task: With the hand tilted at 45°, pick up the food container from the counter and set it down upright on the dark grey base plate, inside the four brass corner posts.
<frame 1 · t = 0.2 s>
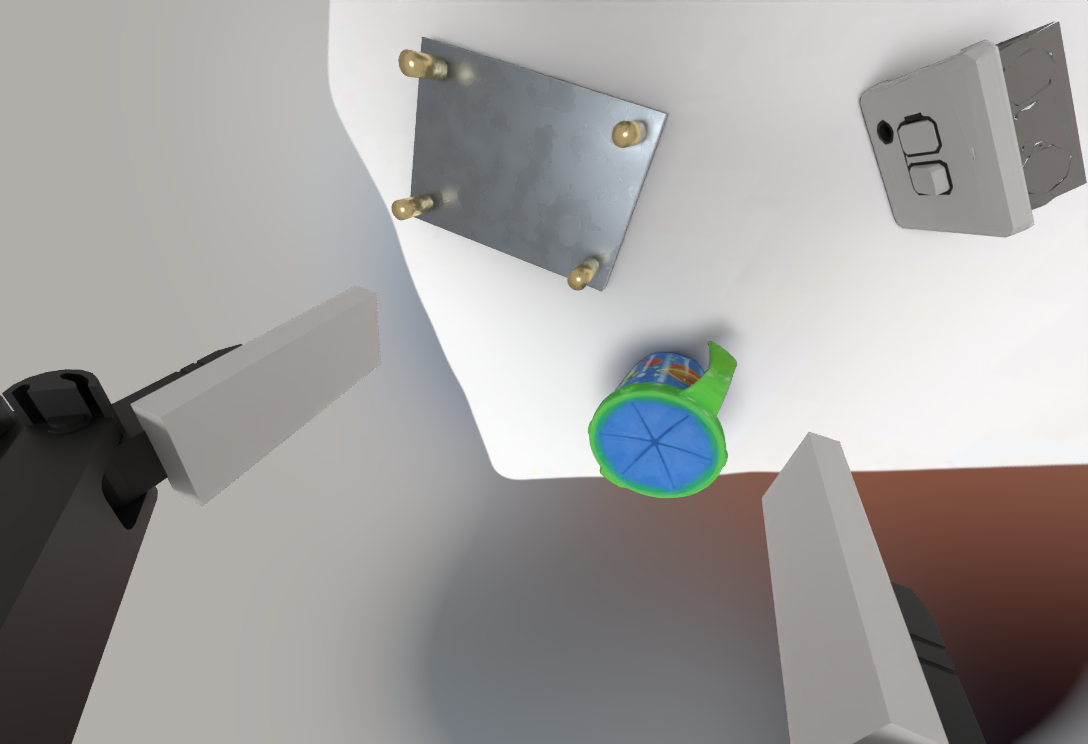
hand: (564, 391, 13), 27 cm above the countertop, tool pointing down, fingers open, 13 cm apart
post plate: (524, 170, 37), on the countertop
snack cup: (668, 383, 42), on the countertop
electrical switch: (925, 137, 28), on the countertop
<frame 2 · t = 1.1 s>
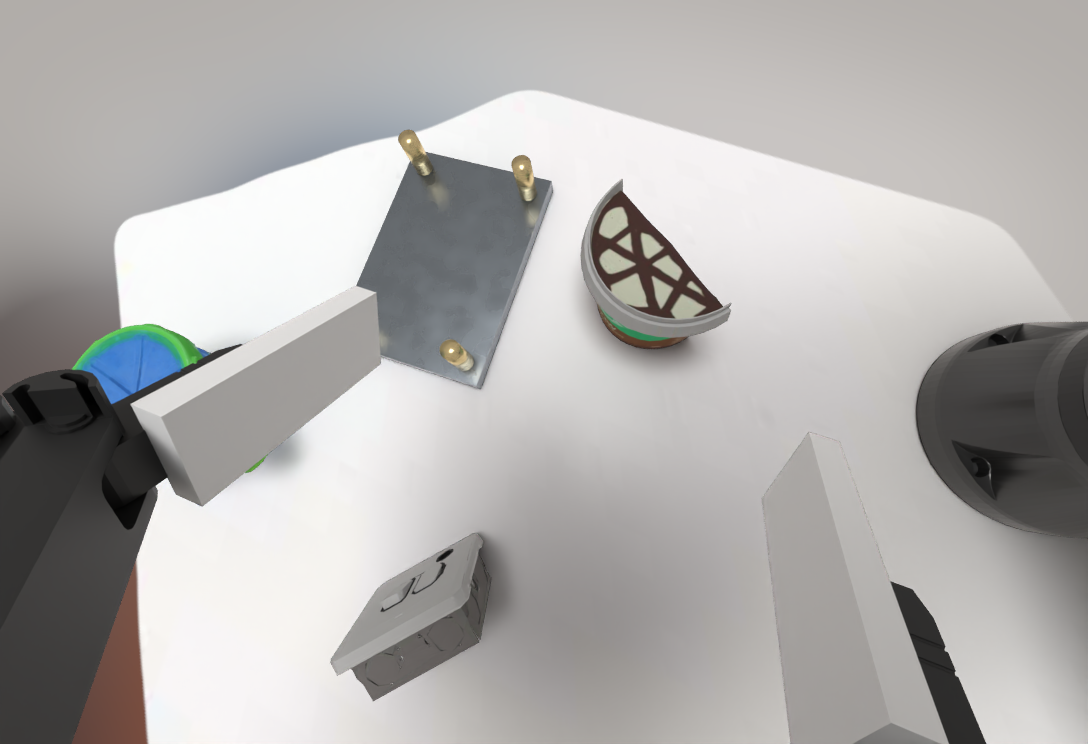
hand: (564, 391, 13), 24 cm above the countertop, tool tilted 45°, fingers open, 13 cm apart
food container: (624, 316, 38), on the countertop
post plate: (448, 266, 41), on the countertop
snack cup: (240, 412, 40), on the countertop
electrical switch: (447, 586, 35), on the countertop
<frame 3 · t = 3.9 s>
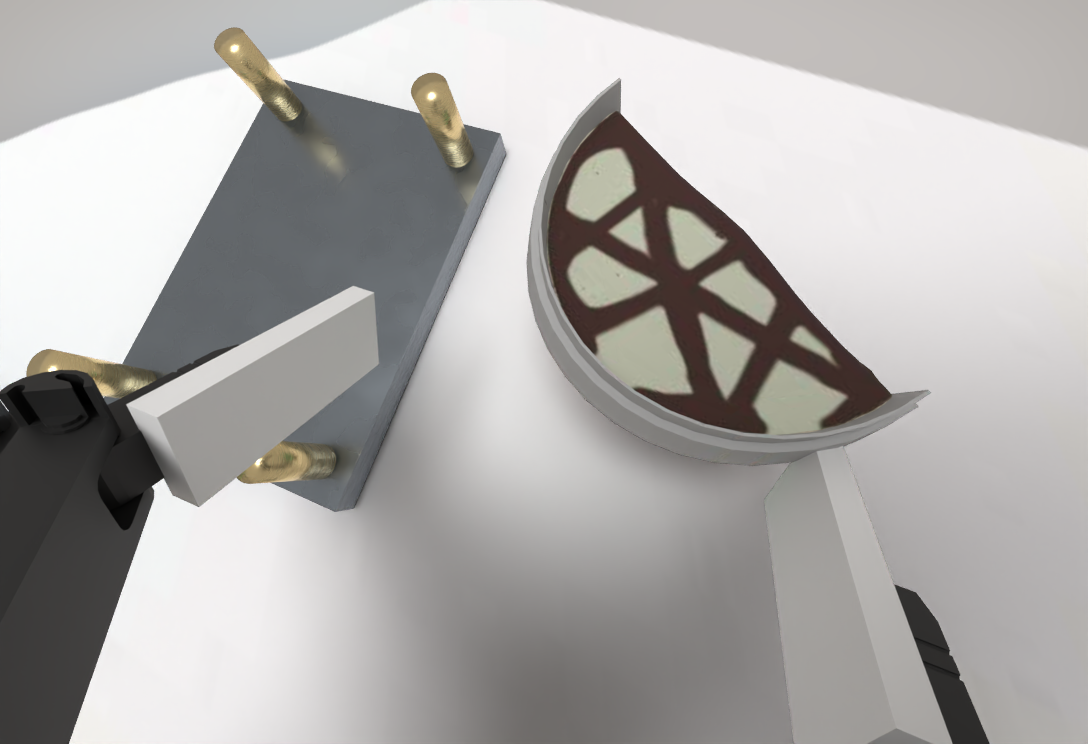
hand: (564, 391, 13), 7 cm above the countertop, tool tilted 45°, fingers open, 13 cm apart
food container: (623, 374, 21), on the countertop, touching gripper
post plate: (320, 279, 24), on the countertop
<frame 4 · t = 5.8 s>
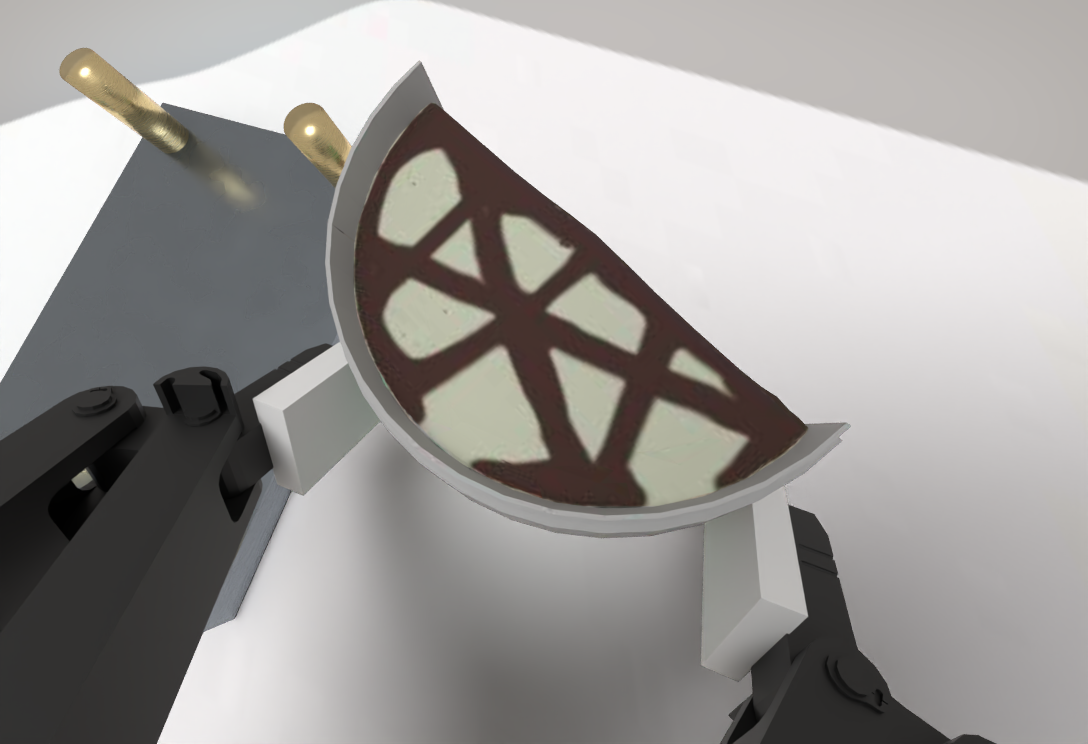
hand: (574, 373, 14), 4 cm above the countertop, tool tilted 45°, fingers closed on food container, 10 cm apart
food container: (543, 403, 18), on the countertop, touching gripper
post plate: (208, 337, 20), on the countertop
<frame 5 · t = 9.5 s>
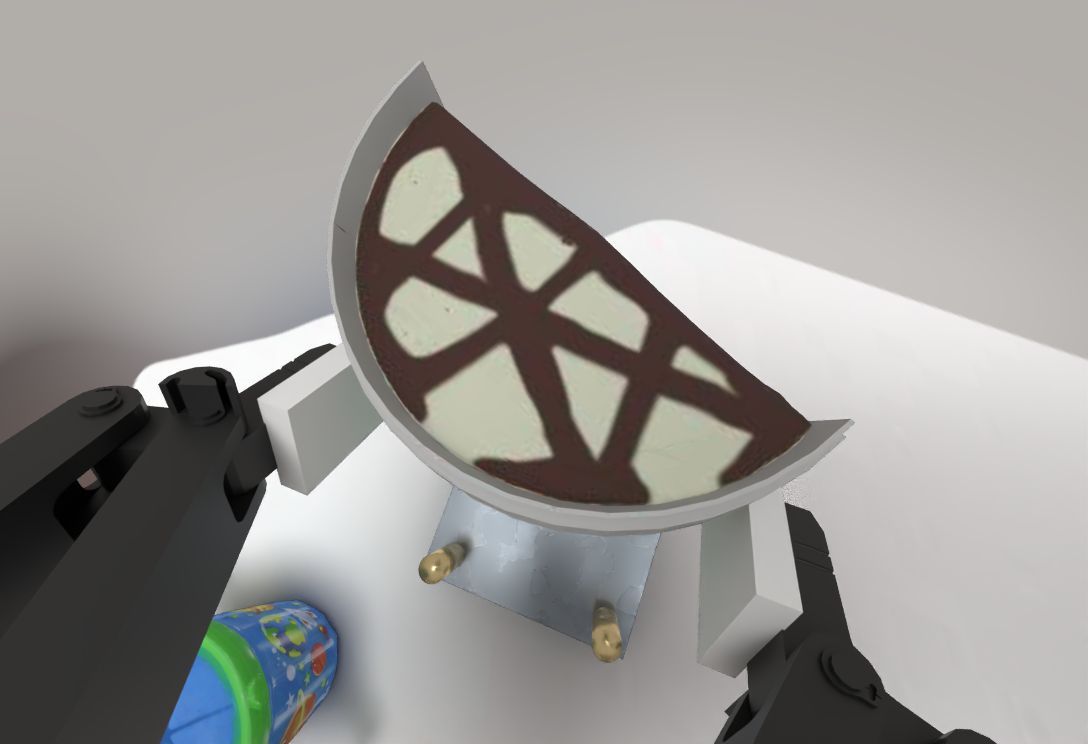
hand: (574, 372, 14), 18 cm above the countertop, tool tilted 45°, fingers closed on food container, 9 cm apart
food container: (544, 403, 18), point 14 cm above the countertop, touching gripper
post plate: (569, 463, 31), on the countertop
snack cup: (293, 654, 31), on the countertop
when the fingers open (6 cm above the countertop, at t = 13.1 s): food container moves 1 cm, resting on post plate.
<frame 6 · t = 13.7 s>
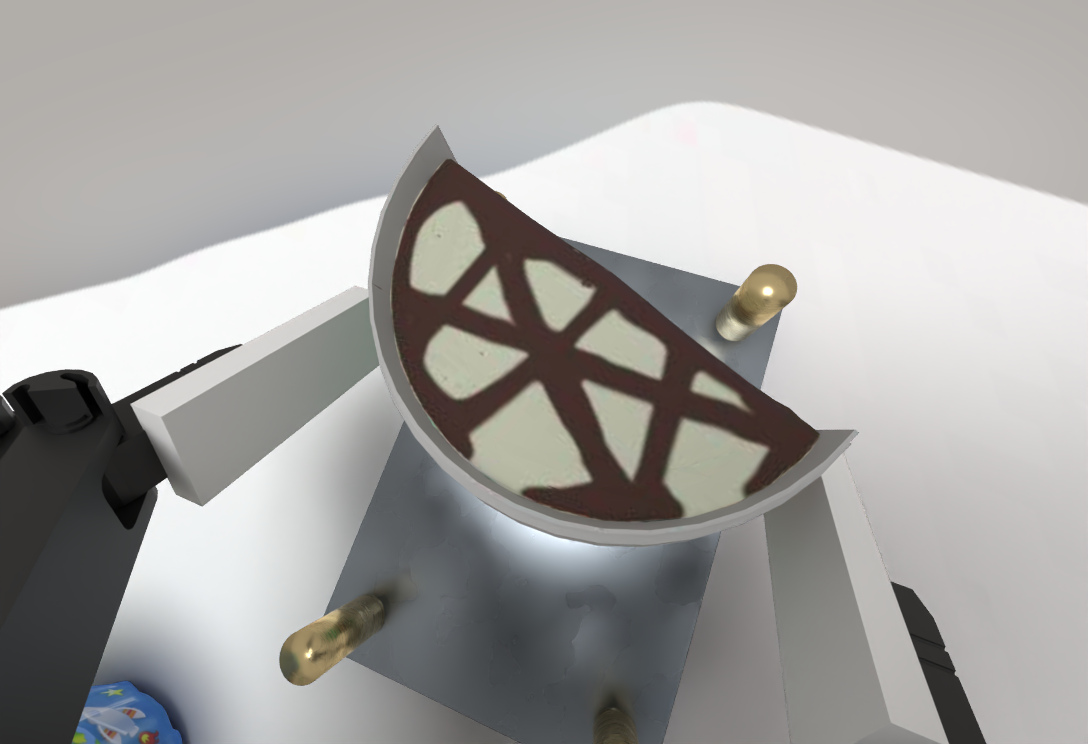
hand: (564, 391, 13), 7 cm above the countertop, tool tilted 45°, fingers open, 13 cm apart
food container: (559, 417, 19), point 1 cm above the countertop, touching post plate
post plate: (557, 465, 20), on the countertop
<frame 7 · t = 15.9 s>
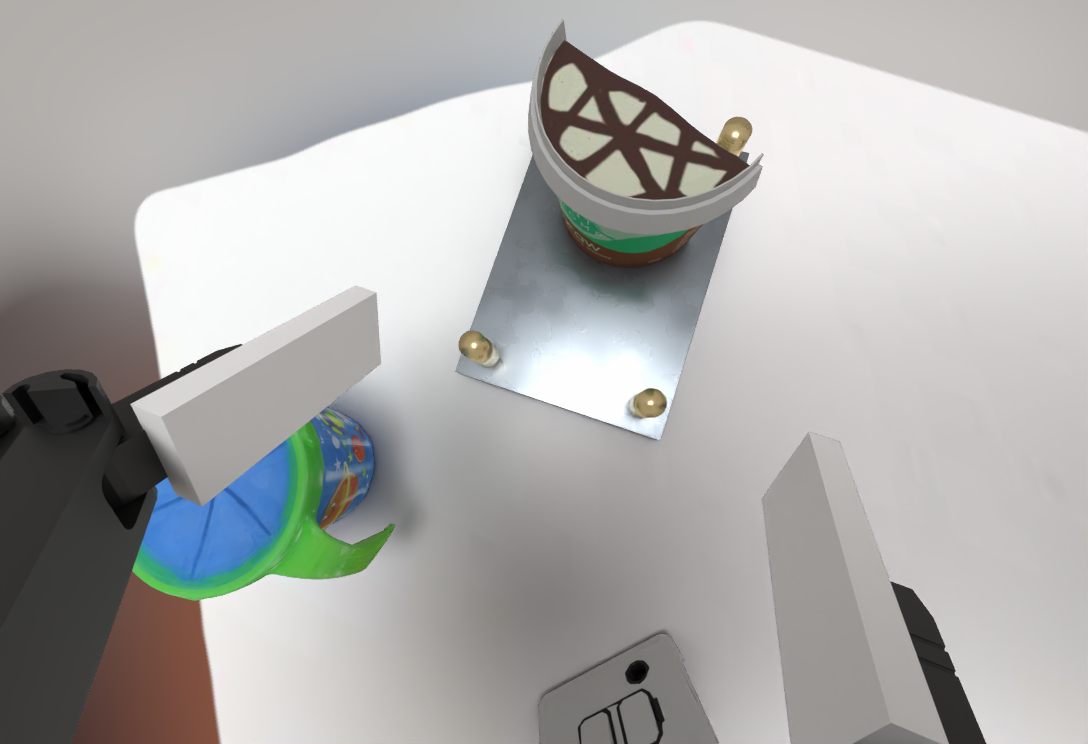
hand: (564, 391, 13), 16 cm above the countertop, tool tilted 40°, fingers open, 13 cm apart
food container: (604, 234, 29), point 1 cm above the countertop, touching post plate
post plate: (601, 270, 30), on the countertop
snack cup: (328, 463, 31), on the countertop
electrical switch: (626, 699, 27), on the countertop
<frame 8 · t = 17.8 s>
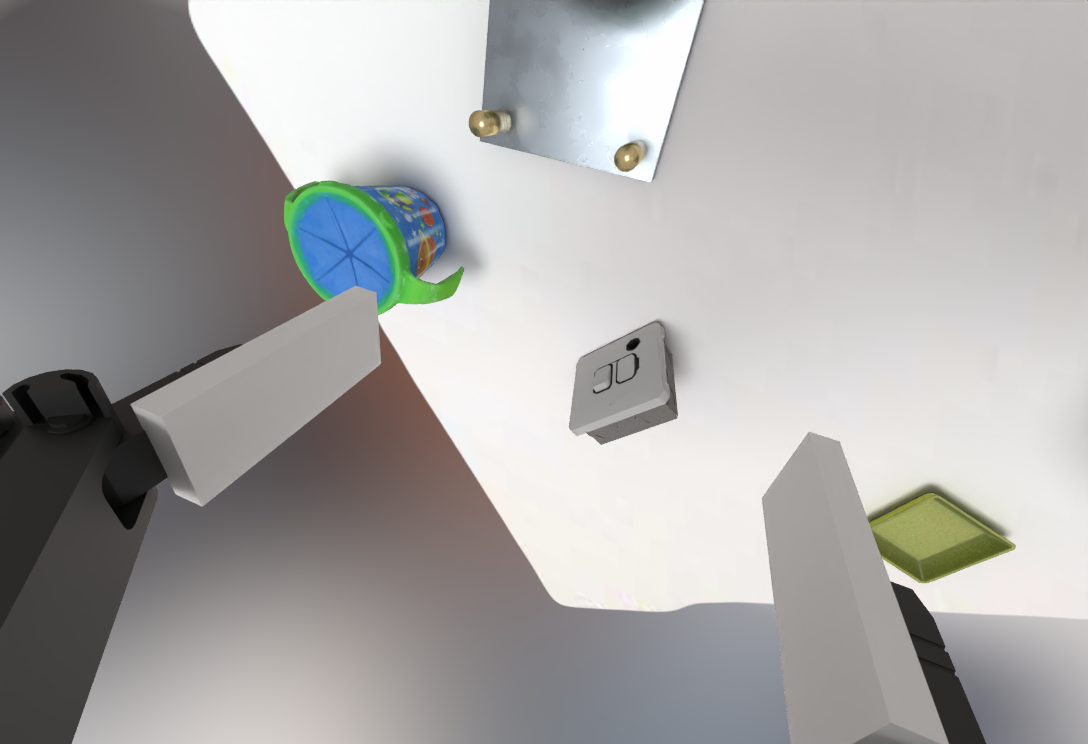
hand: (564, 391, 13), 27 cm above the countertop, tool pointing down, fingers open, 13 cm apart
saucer: (920, 523, 42), on the countertop
snack cup: (415, 225, 42), on the countertop
electrical switch: (633, 359, 42), on the countertop
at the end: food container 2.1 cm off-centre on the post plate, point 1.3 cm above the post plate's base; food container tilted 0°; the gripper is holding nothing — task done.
